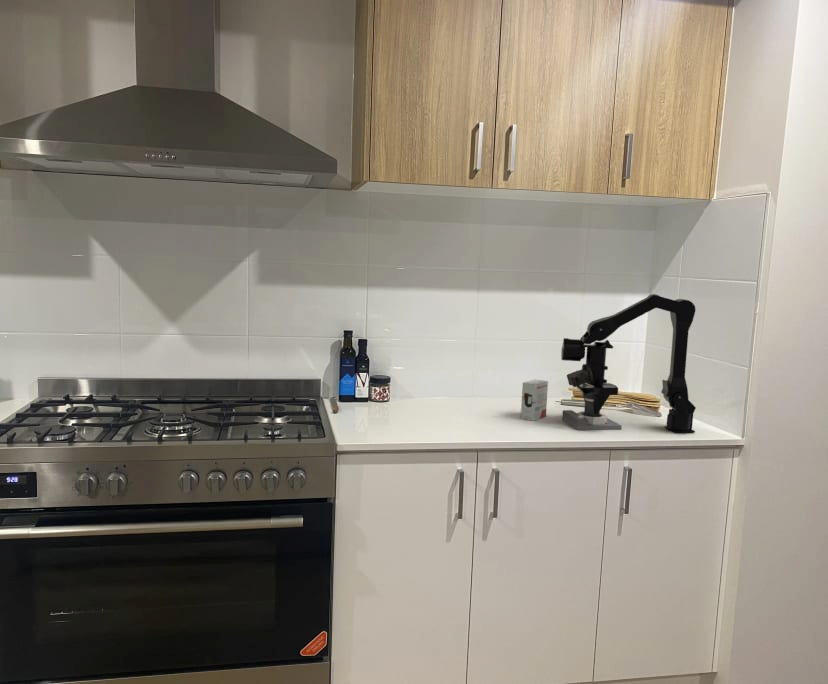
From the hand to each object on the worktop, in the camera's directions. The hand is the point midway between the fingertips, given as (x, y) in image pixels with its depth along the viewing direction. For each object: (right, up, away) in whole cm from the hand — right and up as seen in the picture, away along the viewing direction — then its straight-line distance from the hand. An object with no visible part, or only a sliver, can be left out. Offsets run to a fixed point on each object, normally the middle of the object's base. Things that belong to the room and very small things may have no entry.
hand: (592, 412), depth 206 cm
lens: (0, -2, 0) cm, 2 cm away
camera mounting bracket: (0, -4, +1) cm, 4 cm away
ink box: (-17, -3, +8) cm, 19 cm away
